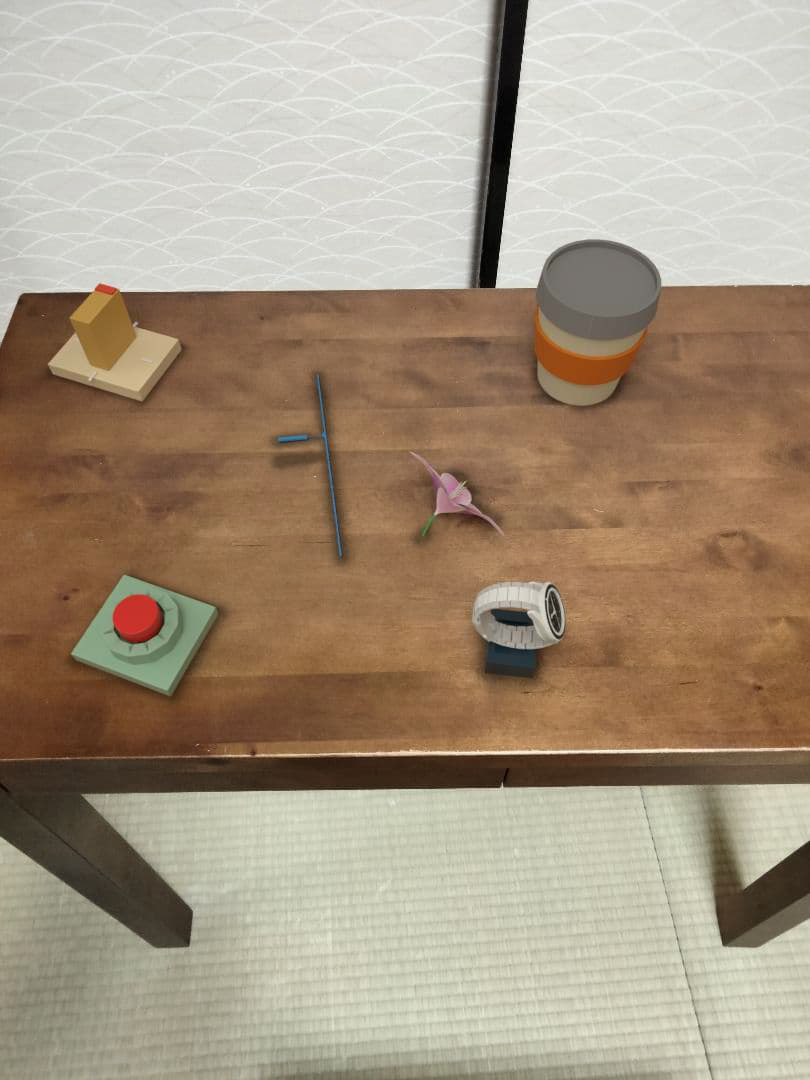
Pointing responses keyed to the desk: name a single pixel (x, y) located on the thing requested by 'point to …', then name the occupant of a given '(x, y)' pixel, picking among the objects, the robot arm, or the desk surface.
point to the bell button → (137, 618)
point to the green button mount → (160, 655)
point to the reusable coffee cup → (592, 317)
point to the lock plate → (120, 364)
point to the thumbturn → (103, 326)
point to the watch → (518, 625)
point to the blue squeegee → (304, 437)
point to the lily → (451, 496)
